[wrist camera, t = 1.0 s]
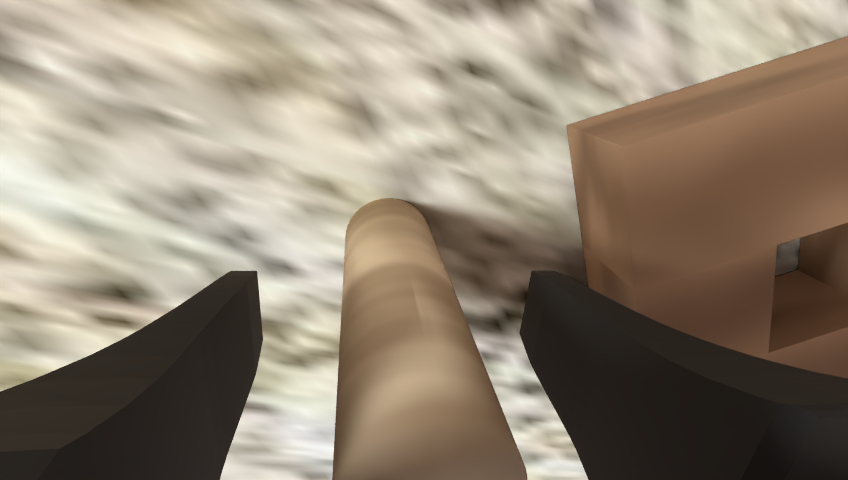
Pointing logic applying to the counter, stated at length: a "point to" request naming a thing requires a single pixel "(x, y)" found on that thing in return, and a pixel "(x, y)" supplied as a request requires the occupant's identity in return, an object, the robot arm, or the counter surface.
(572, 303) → the robot arm
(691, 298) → the hole block
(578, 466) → the counter surface
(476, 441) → the beech peg
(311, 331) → the counter surface
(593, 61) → the counter surface
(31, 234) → the counter surface
